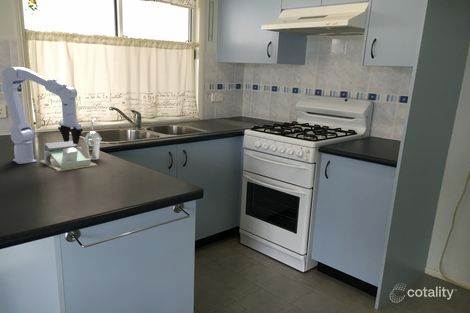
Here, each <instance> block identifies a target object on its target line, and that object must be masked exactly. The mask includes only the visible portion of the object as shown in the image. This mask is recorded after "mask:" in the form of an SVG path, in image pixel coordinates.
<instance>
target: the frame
mask: <svg viewBox="0 0 470 313" xmlns="http://www.w3.org/2000/svg"><path fill="white" fill-rule="evenodd" d="M77 149H78V150H79V151H80V153H81V154H82V155H83V156H84V154H83V153H84V149H83V147H81V146H80V147H78V146H77ZM43 155H44V157H43V159H41V160H40V161H39V162H40V163H42V164H44V165H46V166H47V167H49V168H51V169H53V170H54V171H56V172H64V171H69V170H75V169H81V168H82V169H83V168H88V167H93V166H97V163H95V162H92V161H90V164H88V165H81V166H75V167H68V168H61V167H60V166H59V165H58V163H57V162H56V161H55V160H54V159H53V158H51V157H50V152H49V151H45V150H44V151H43Z"/></svg>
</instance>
